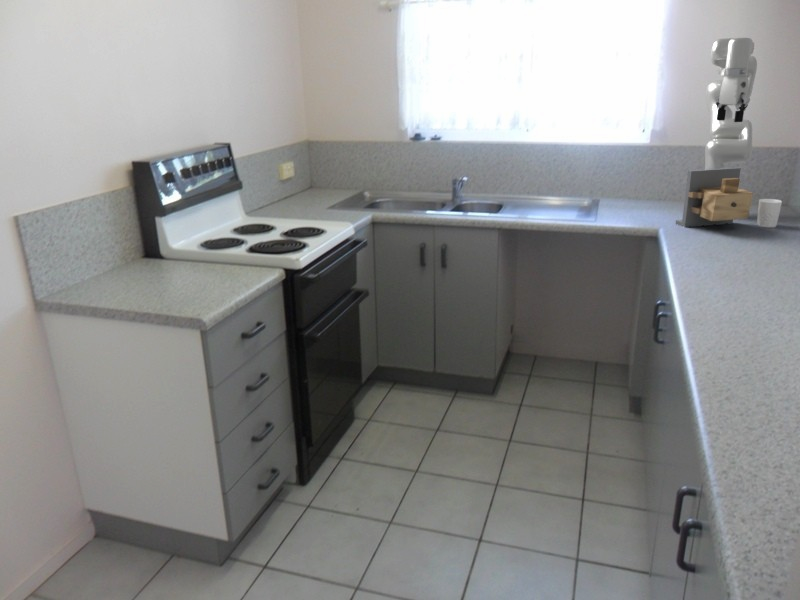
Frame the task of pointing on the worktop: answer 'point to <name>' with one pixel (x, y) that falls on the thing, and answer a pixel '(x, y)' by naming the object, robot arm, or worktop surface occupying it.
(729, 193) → the wooden box
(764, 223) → the white cup
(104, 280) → the worktop surface
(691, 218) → the wall board
